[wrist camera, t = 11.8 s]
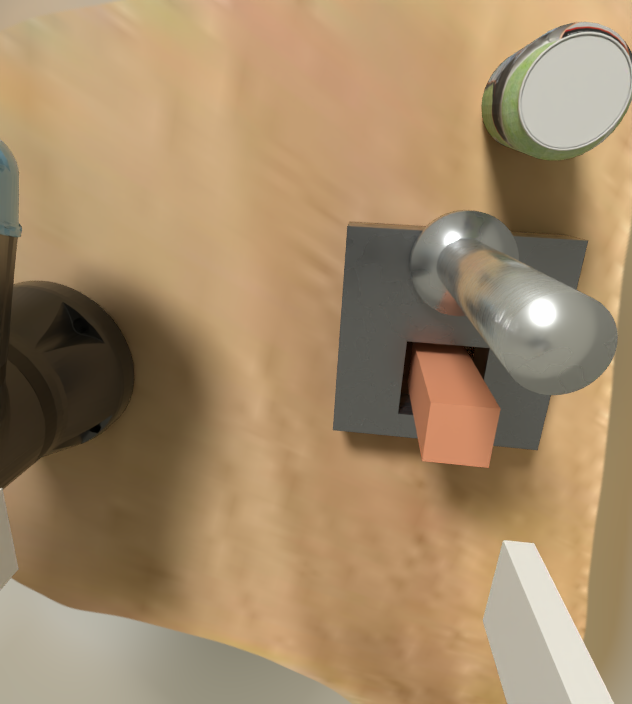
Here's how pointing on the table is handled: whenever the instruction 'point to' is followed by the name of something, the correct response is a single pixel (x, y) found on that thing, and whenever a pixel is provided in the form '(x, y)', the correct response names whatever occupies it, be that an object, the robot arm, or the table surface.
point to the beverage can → (560, 92)
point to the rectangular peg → (451, 406)
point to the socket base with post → (466, 319)
